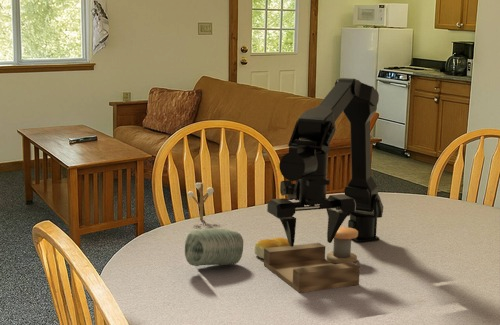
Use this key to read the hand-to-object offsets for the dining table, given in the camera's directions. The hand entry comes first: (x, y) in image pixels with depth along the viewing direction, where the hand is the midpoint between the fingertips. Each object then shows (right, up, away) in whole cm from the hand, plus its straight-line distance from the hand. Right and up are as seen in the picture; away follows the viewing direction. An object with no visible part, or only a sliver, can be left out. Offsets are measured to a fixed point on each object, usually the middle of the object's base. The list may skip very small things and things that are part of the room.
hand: (310, 244), depth 145 cm
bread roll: (-6, -4, +17) cm, 19 cm away
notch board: (0, -7, +1) cm, 7 cm away
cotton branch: (-27, +1, +41) cm, 49 cm away
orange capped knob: (+8, -5, +12) cm, 16 cm away
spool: (-23, -6, +4) cm, 24 cm away
